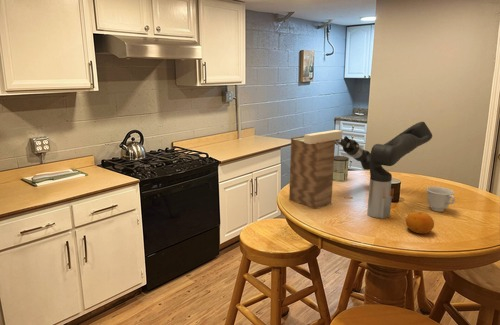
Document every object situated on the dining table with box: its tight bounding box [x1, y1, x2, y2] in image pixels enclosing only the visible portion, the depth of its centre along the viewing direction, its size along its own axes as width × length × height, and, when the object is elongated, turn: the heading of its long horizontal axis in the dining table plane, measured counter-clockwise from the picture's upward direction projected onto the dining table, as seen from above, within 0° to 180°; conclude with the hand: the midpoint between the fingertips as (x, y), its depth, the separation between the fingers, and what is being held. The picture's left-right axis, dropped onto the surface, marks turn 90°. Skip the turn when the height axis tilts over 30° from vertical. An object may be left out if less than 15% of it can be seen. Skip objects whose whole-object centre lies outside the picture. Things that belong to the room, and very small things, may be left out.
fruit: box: [405, 212, 435, 235], centre depth 149 cm, size 10×10×8 cm
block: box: [303, 129, 344, 144], centre depth 176 cm, size 4×24×4 cm, turn 129°
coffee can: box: [333, 155, 350, 183], centre depth 223 cm, size 10×10×14 cm
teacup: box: [425, 186, 456, 213], centre depth 172 cm, size 12×15×10 cm
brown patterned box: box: [288, 135, 336, 210], centre depth 181 cm, size 18×12×33 cm, turn 39°
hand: (337, 136), depth 184 cm, fingers open, 8 cm apart
